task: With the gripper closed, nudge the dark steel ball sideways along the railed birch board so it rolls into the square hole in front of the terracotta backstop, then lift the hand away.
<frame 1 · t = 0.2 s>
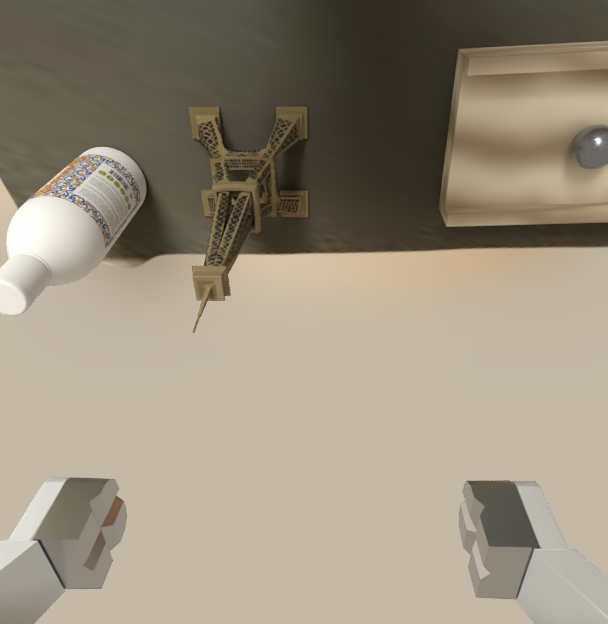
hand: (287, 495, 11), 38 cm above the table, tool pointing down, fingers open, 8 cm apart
eiffel tower: (252, 163, 46), on the table
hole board: (597, 130, 43), on the table
bath foam: (113, 179, 48), on the table
steel ball: (594, 147, 40), point 4 cm above the table, touching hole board
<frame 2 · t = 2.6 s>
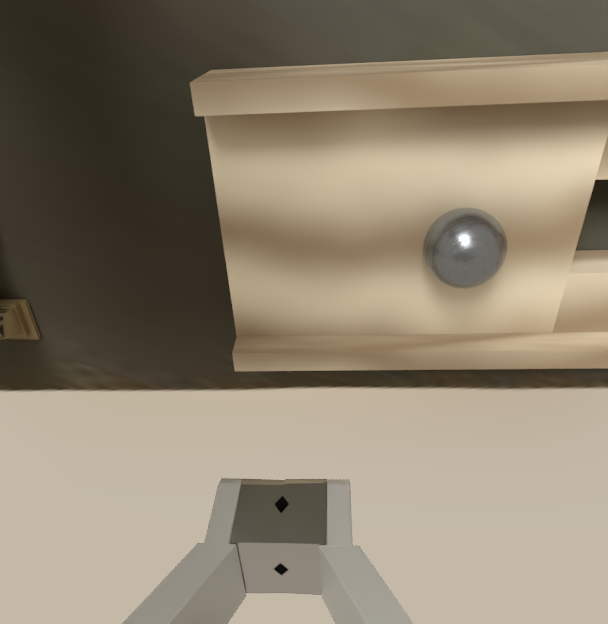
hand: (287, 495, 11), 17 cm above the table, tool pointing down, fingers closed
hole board: (484, 211, 25), on the table
steel ball: (464, 248, 21), point 4 cm above the table, touching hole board
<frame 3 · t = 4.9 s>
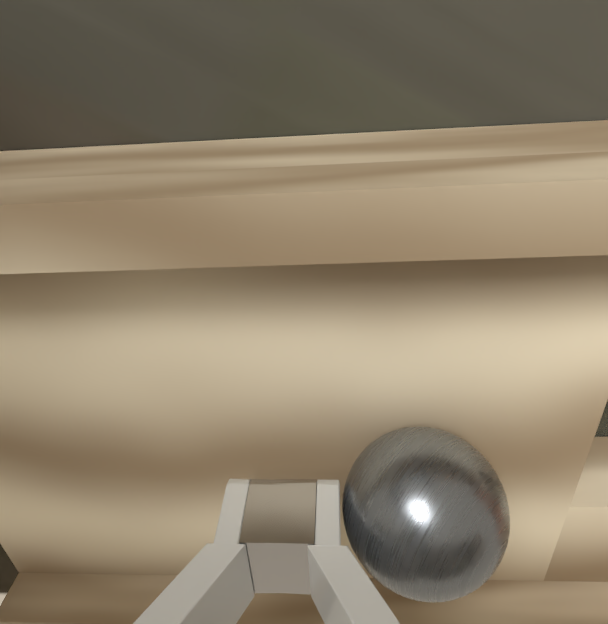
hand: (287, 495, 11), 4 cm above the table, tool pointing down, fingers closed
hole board: (419, 381, 14), on the table
steel ball: (422, 508, 11), point 4 cm above the table, tilted 47°, touching gripper, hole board
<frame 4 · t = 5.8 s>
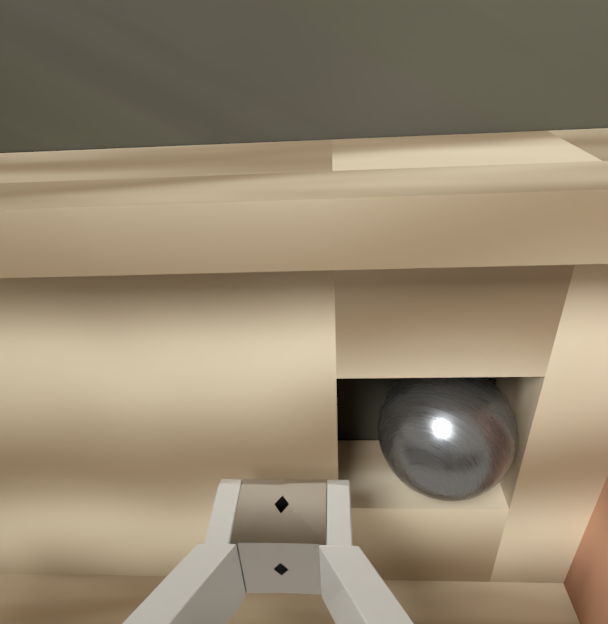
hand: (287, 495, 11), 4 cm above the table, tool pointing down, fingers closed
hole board: (213, 386, 15), on the table
steel ball: (444, 429, 13), point 2 cm above the table, tilted 28°
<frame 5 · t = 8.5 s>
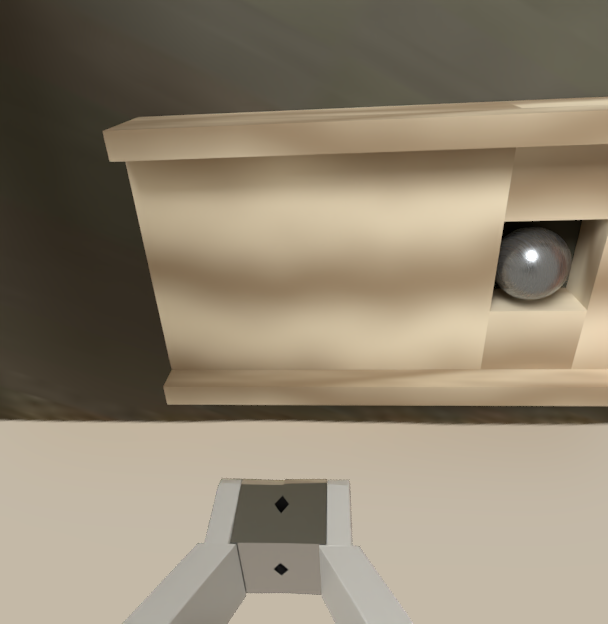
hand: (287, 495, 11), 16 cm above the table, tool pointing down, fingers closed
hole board: (409, 250, 25), on the table
steel ball: (530, 263, 23), point 2 cm above the table, tilted 62°
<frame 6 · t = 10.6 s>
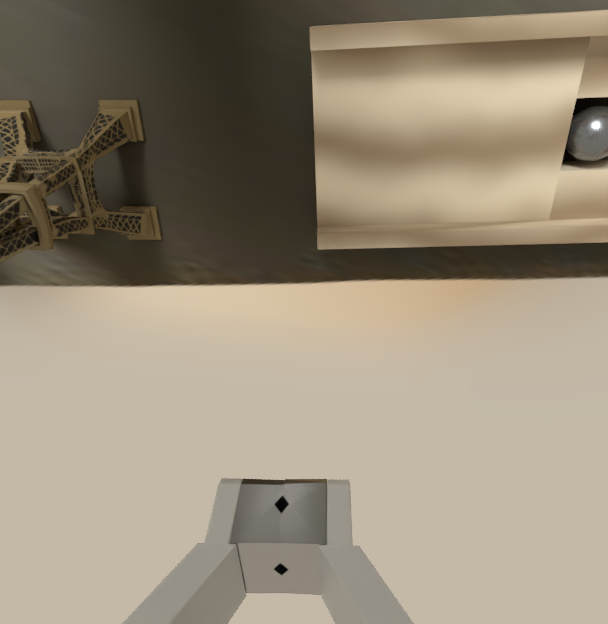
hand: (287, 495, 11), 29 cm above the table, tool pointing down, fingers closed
eiffel tower: (84, 173, 38), on the table
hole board: (499, 130, 34), on the table
steel ball: (593, 133, 32), point 2 cm above the table, tilted 56°
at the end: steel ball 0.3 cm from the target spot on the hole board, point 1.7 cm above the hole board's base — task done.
